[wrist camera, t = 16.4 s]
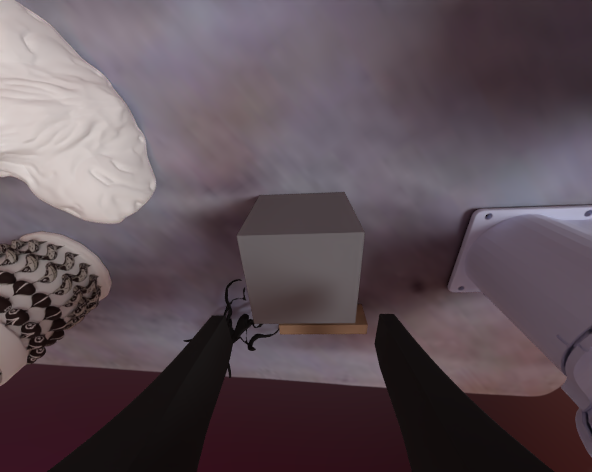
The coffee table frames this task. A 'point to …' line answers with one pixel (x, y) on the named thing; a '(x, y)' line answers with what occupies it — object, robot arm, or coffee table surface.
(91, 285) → the decorative candle
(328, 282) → the grey matte cube
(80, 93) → the bust
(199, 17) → the coffee table surface
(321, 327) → the stopper bar
